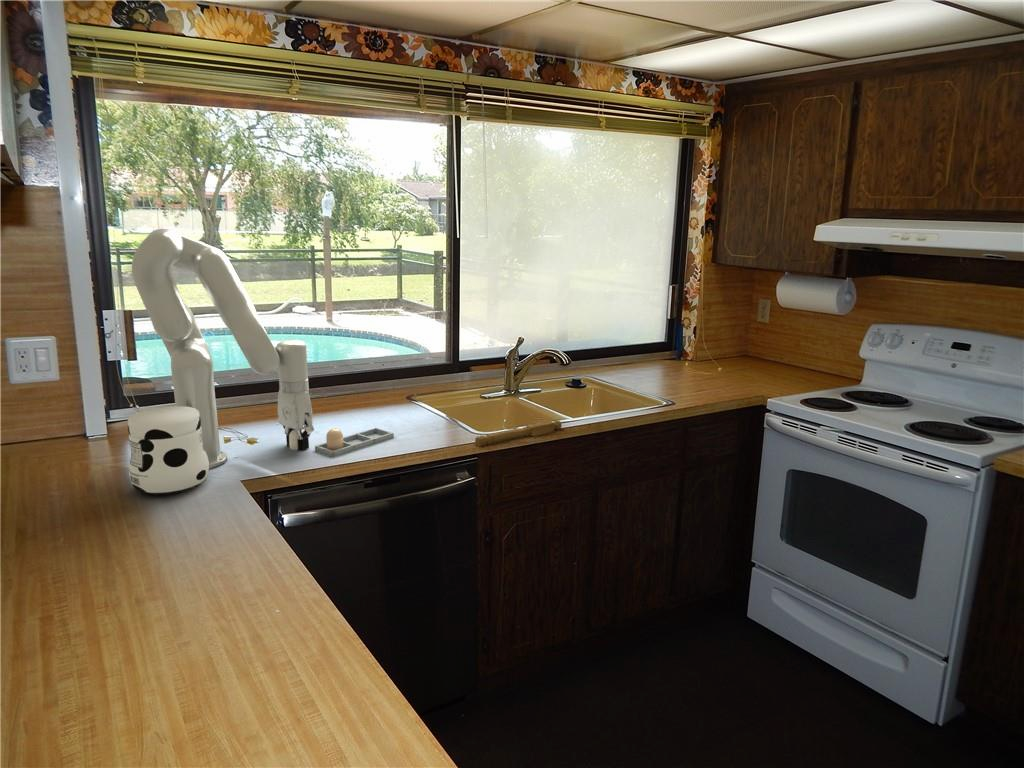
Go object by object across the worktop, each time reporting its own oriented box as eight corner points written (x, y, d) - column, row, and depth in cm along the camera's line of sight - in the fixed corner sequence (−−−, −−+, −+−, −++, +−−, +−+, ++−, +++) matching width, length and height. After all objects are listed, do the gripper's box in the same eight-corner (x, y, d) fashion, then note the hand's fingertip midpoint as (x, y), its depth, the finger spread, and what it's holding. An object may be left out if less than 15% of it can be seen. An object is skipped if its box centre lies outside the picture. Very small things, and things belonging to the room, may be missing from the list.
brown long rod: (474, 435, 206) (557, 418, 223) (474, 445, 207) (557, 427, 223) (480, 438, 204) (563, 420, 220) (480, 448, 204) (563, 430, 221)
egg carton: (332, 461, 191) (331, 453, 191) (311, 454, 197) (311, 446, 196) (397, 440, 209) (397, 432, 208) (376, 434, 214) (376, 426, 214)
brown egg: (333, 454, 194) (332, 432, 193) (323, 450, 197) (322, 428, 195) (346, 450, 197) (345, 428, 196) (336, 446, 200) (335, 425, 199)
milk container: (221, 473, 182) (214, 404, 178) (194, 501, 166) (186, 426, 161) (151, 473, 182) (143, 404, 177) (117, 501, 165) (107, 426, 161)
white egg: (296, 454, 197) (294, 432, 195) (286, 450, 199) (285, 429, 198) (309, 450, 200) (308, 428, 198) (300, 446, 203) (298, 425, 201)
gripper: (263, 383, 197) (268, 446, 202) (301, 393, 187) (305, 460, 192) (287, 378, 203) (291, 440, 208) (324, 388, 193) (328, 453, 197)
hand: (298, 449), depth 200 cm, fingers closed on white egg, 4 cm apart
